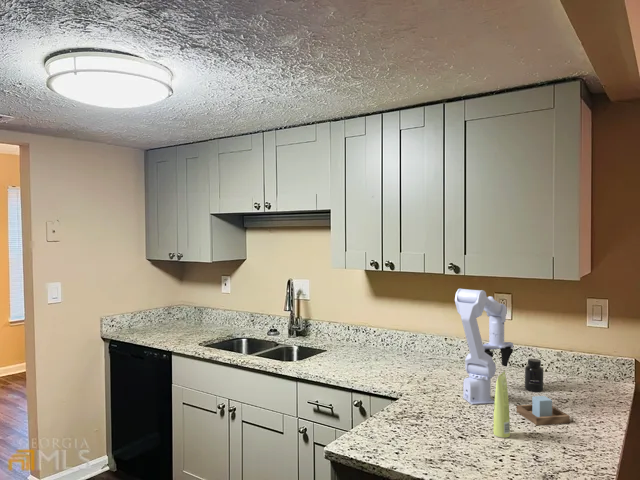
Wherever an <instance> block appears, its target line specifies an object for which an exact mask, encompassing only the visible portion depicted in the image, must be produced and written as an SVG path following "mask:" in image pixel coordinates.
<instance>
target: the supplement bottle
mask: <svg viewBox="0 0 640 480" xmlns="http://www.w3.org/2000/svg"><path fill="white" fill-rule="evenodd" d="M524 388H525V390H526V391H529V392H533V393H541V392H543V390H544V369H543V367H542V361H541V360H540V359H538V358H528V359H527V365H526V366H525V368H524Z"/></svg>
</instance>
